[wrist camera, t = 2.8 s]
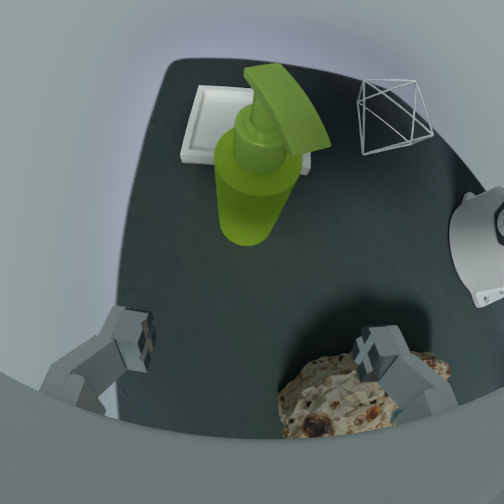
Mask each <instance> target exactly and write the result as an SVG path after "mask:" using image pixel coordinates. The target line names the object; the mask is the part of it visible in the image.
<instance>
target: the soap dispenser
mask: <svg viewBox="0 0 504 504" xmlns="http://www.w3.org/2000/svg"><path fill="white" fill-rule="evenodd" d="M244 78H245V79H246V80H247V82H248V83H249V85H250V86H251V88H252V89H253V91H254V95H253V103H252V104H249V105H247V106H245V107H244V108H242V109H241V110H240V111H239V112H238V114H237V116H236V118H235V124H234V127H233V128H232V129H230V130H228V131H227V132H226V133H225V134H224V135H223V136H222V137H221V138H220V139H219V141H218V143H217V145H216V147H215V151H214V167H215V179H216V191H217V202H218V212H219V223H220V227H221V230H222V232H223V234H224V235H225V236H226V237H227V238H228V239H229V240H230V241H231V242H233V243H235V244H238V245H242V246H252V245H256V244H258V243H260V242H262V241H263V240H265V239H266V238H267V237H268V235H269V234H270V232H271V230H272V228H273V226H274V224H275V222H276V220H277V218H278V216H279V214H280V213H281V211H282V209H283V207H284V205H285V203H286V201H287V199H288V197H289V195H290V193H291V191H292V189H293V187H294V185H295V183H296V181H297V179H298V177H299V175H300V173H301V170H302V154H304V153H308V152H313V151H317V150H321V149H325V148H329V147H331V142H330V140H329V137H328V135H327V132H326V130H325V128H324V126H323V123H322V121H321V119H320V117H319V115H318V113H317V111H316V110H315V108H314V106H313V104H312V103H311V101H310V100H309V98H308V97H307V95H306V94H305V92H304V91H303V90H302V88H301V87H300V86H299V84H298V83H297V82H296V81H295V79H294V78H293V77H292V76H291V75H290V74H289V73H288V71H287V70H286V69H285V68H284V67H283V66H282V65H281V64H280V63H274V64H266V65H260V66H253V67H247V68H244Z"/></svg>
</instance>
